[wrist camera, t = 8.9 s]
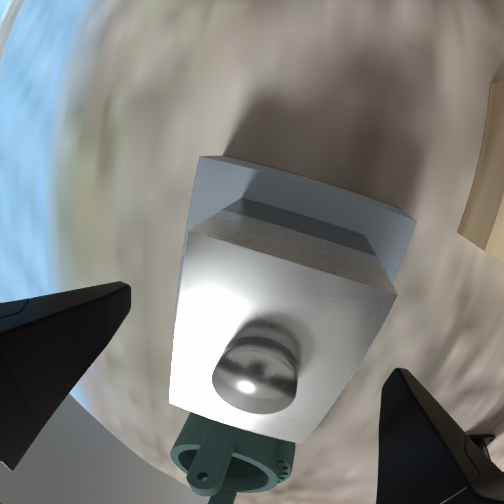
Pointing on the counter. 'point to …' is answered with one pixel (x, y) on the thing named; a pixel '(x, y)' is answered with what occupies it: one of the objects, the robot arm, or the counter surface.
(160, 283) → the counter surface
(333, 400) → the block
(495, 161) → the stand oak
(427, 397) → the robot arm
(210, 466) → the bracket
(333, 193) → the stand slate
